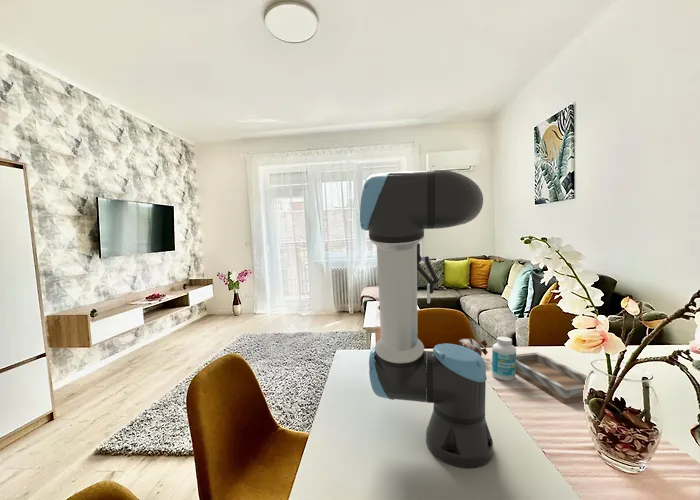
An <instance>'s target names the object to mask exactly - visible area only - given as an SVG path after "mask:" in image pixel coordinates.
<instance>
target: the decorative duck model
mask: <svg viewBox="0 0 700 500" xmlns="http://www.w3.org/2000/svg"><path fill="white" fill-rule="evenodd" d="M458 344H459V345H460V346H463V347H466V348H469V349H471V350H473V351H475V352H477V353H478V354H479V355H480V356H481V357H482V353H483V355H484V356H486V355H488V352H489V351H487V346H488V342H487V341H486V339H483V340H481V341H480V342H478V341H476V339H473V338H468V337H467V338H460V339H459V340H458ZM480 344H481V345H482V346H483V347H484V348H481V346H480Z"/></svg>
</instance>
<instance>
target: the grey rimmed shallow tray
mask: <svg viewBox="0 0 700 500" xmlns="http://www.w3.org/2000/svg"><path fill="white" fill-rule="evenodd" d="M515 375H517V376H518V377H520V378H521V379H523V380H525V381H526V382H528V383H529V384H531V385H533V386H535V387H536V388H538V389H539V390H541V391H542V392H544V393H546V394H548V395H549V396H551V397H553V399H556V400H558V401H559V402H560V403H563V404H570V403H576V402H582V401H584V400H583V390H584V385H585V380H586V378H587V376H588V375H586V374H584V373H582V372H581V371H577V370H576V369H573V368H572V367H569V366H567V365H565V364H562V363H561V362H559V361H557V360H554V359H552V358H550V357H548V356H546V355H544V354H542V353H540V352H537V351H536V352H529V353H527V352H526V353H519V354H516V373H515Z"/></svg>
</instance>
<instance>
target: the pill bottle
mask: <svg viewBox="0 0 700 500" xmlns="http://www.w3.org/2000/svg"><path fill="white" fill-rule="evenodd" d="M491 350H492V351H491V352H492V353H491V354H492V355H491V356H492V357H491V374H492V376H493V377H494V378H496V379H497V380H501V381H505V382H512V381H513V380H515V378H516V374H515V373H516V355H517V348H516V347H515V346H514V345H513V339H512V338H511V337H507V336H498V337H496V343H494V344H493V345H492V349H491Z"/></svg>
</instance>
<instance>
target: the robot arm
mask: <svg viewBox="0 0 700 500" xmlns="http://www.w3.org/2000/svg"><path fill="white" fill-rule="evenodd" d="M483 205H484V195H483V192H482V189H481V188H480V186H479V185H478V184H477V183H476V182H475V181H474V180H472V179H471V178H469V177H468V176H466V175H464V174H462V173H460V172H456V171H452V170H446V169H445V170H444V169H435V170H417V171H397V172H395V171H392V172H390V171H386V172H383V173H382V172H381V173H375V174H371V175H369V176H367V178H366V180H365V181H364V183H363V188H362V192H361V198H360V205H359V223H360V228H361V230H363V231H366V232H367V231H368V238H369V240H370V242H372V243H373V244H374V245H375V246H376V259H377V262H376V263H377V281H378V282H377V283H378V300H379V302H378V304H379V322H380V323H379V324H380V338H379V339H378V340H377V341H376V343H375V347H372V348H371V350H370V353H369V358H368V367H369V370H368V374H369V375H368V376H369V381H370V385H371V389H372V391H373V393H374V394H375V395H376V396H377V397H379V398H384V399H388V400H393V401H394V400H398V401H410V402H411V401H412V402H419V403H429V404H433V411H432V413H431V416H430V419H429V422H428V425H427V427H426V433H425V441H426V442H425V443H426V445H427V449H429V451H430V452H431V454H433V455H434V456H435V457H436V458H438V459H439V460H441V461H442V462H445V463H447V464H448V465H452V466H453V467H459V468H464V467H465V468H466V469H467V468H468V469H470V468H469V467H474V468H479V467H478V466H480V467H482V465H483V466H485V465H486V464H488V463H489V462H490V461H491V460H492V459H493V456H494V455H493V454H494V442H493V438H492V435H491V433H490V430H489V429H490V428H489V425H488V423H487V420H486V390H487V389H486V386H487V385H486V383H487V382H486V381H487V379H488V377H487V370H486V362H485V359H484V358H483V357H482V355H481V356H480V355H479V354H478V353H477V352H475V351H473V350H471V349H469V348H466V347H463V346H460V345H458V344H454V343H438V344H436V345H434V347H433V349H432V351H430V350H425V346H424V343H423V342H422V341H421V340H420V339H419V337H418V336H419V335H418V332H419V331H418V273H420V274H421V276H422V277H423V278H424V279H425V281H426V282H427V286H426V287H427V288H426V294H427V295H426V303H427V304H430V303H431V294H432V295H433V294H434V290H435V289H434V288H435V287H434V285H435V284H438V283H439V282H440V280H439V277H438V276H437V273H436V271H435V270H434V268H433V266H432V263H431V261H430V260H431V259H430V256H429V255H427V256H421V244H420V242H421V241H422V240H423V239H424V237H425V230H431V229H432V230H435V229H446V228H452V227H456V226H457V227H458V226H461V225H466V224H468V223H470V222H472V221H474V219H476V218H477V217H478V215H480V213H481V211H482V209H483ZM421 262H423V264H425V265H426V267H427V269H428V271H429V274H430V275H431V277H430V275H429V274H428V273H427V272H426V271H425V269H424V268H423V267H422V266H421V264H420V263H421Z"/></svg>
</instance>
